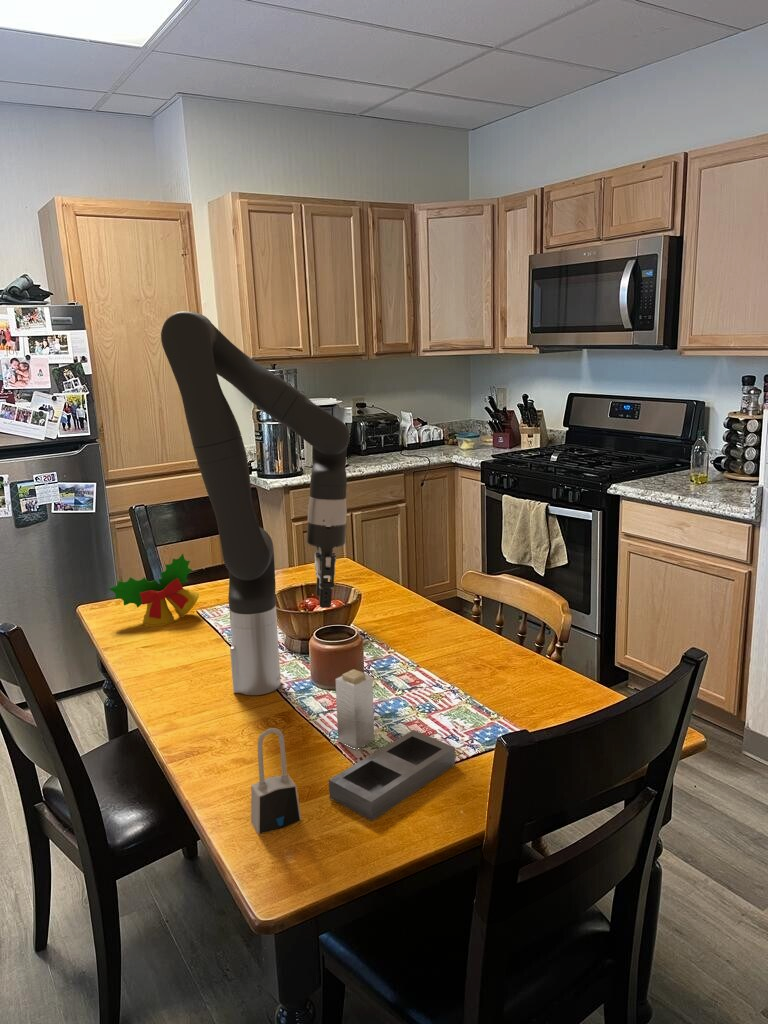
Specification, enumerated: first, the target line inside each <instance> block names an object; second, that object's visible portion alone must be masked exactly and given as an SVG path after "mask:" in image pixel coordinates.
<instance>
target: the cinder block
mask: <svg viewBox="0 0 768 1024" xmlns="http://www.w3.org/2000/svg"><path fill="white" fill-rule="evenodd" d="M453 765H454V766H455V765H456V747H455V746H454V745H450V744H448V743H446V742H443V741H442V740H439V739H436V738H434V737H432V736H429V735H427V734H424V733H422V732H419V731H417V730H415V729H412V730H411V731H409V732H407V733H405V734H404V735H402V736H401V737H398V738H397V739H395V740H393V741H392V742H390V743H388V744H386V745H385V746H383V747H382V748H380V749H378V750H377V751H375V752H372V753H371V754H370V755H368V756H367V757H365V758H363V759H362V760H359V761H358V762H355V764H353V765H351V766H349V767H348V768H346V769H344V770H343V771H341V772H340V773H338V774H336V775H334V776H332V777H331V778H329V779H328V792H329V799H331V801H334V802H336V803H338V804H339V805H341V806H343V807H345V808H347V809H349V810H351V811H352V812H354V813H356V814H357V815H359V816H362V817H363V818H365V819H367V820H369V821H370V822H373V821H374V820H376V819H377V818H379V817H380V816H382V815H383V814H385V813H386V812H388V811H389V810H391V809H392V808H394V807H395V806H397V805H398V804H400V803H401V802H403V801H404V800H405V799H407V798H408V797H410V796H412V795H413V794H414V793H416V792H417V791H419V790H420V789H421V788H423V787H425V786H426V785H427V784H428V783H431V782H432V781H433V780H435V779H436V778H438V777H439V776H440V775H443V774H444V773H445V772H447V771H449V770H450V769H451V768H452V766H453ZM454 766H453V767H454ZM446 770H447V771H446Z"/></svg>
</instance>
